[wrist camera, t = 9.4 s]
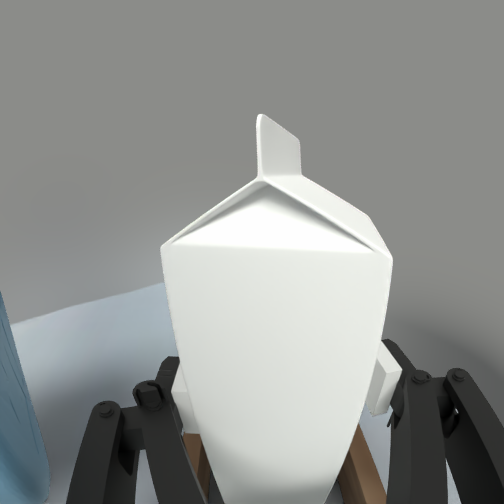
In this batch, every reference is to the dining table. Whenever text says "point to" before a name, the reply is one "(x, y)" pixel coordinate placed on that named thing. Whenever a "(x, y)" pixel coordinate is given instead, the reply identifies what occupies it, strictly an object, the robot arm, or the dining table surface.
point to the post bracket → (350, 476)
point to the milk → (277, 327)
